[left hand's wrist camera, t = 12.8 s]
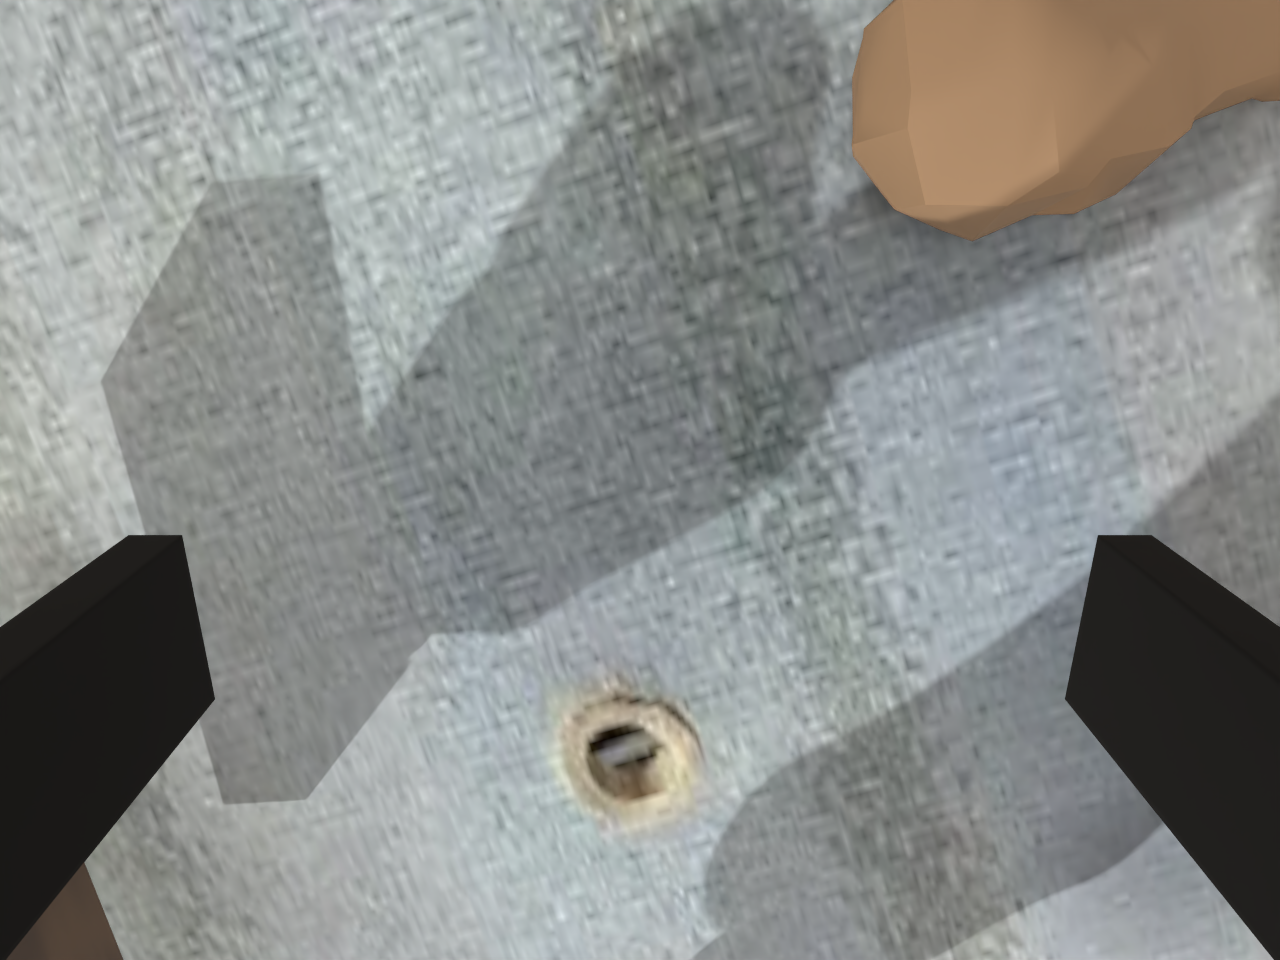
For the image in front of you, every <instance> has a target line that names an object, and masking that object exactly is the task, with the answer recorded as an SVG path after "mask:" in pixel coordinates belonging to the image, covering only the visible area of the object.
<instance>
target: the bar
mask: <svg viewBox="0 0 1280 960" xmlns="http://www.w3.org/2000/svg"><path fill="white" fill-rule="evenodd" d="M6 960H123V958H122V955H121V953H120V950H119V948H118V945H117V943H116V940H115V938H114V935H113V933H112V930H111V928H110V925H109V923H108V920H107V918H106V915H105V913H104V910H103V908H102V905H101V903H100V900H99V898H98V895H97V893H96V890H95V888H94V885H93V883H92V880H91V878H90V875H89V873H88V870H87V868H86V865H85V863H83V864H82V866H81V867H80V868H79V869H78V871H77V872H76V873H75V874H74V876H73V877H72V878H71V879H70V880H69V882H68V883H67V884H66V885H65V887H64V888H63V889H62V890H61V892H60V893H59V894H58V895H57V897H56V898H55V899H54V900H53V902H52V903H51V904H50V905H49V907H48V908H47V909H46V910H45V912H44V913H43V914H42V915H41V917H40V918H39V919H38V920H37V922H36V923H35V924H34V925H33V927H32V928H31V929H30V930H29V932H28V933H27V934H26V935H25V937H24V938H23V939H22V940H21V942H20V943H19V944H18V945H17V947H16V948H15V949H14V950H13V952H12V953H11V954H10V955H9V957H8V958H7V959H6Z"/></svg>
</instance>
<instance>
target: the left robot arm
mask: <svg viewBox="0 0 1280 960" xmlns="http://www.w3.org/2000/svg"><path fill="white" fill-rule="evenodd" d="M214 700H215V697H214V692H213V687H212V682H211V677H210V672H209V667H208V662H207V657H206V652H205V647H204V642H203V637H202V632H201V627H200V622H199V617H198V612H197V607H196V602H195V597H194V592H193V587H192V582H191V577H190V572H189V567H188V562H187V558H186V553H185V548H184V543H183V538H182V535H128V536H127V537H125V538H124V539H123V540H121V541H120V542H118V543H117V544H116V545H114V546H113V547H112V548H110V549H109V550H107V551H106V552H105V553H103V554H102V555H100V556H99V557H98V558H96V559H95V560H93V561H92V562H91V563H89V564H88V565H86V566H85V567H84V568H82V569H81V570H79V571H78V572H77V573H75V574H74V575H72V576H71V577H70V578H68V579H67V580H65V581H64V582H63V583H61V584H60V585H58V586H57V587H56V588H54V589H53V590H52V591H50V592H49V593H47V594H46V595H45V596H43V597H42V598H40V599H39V600H38V601H36V602H35V603H33V604H32V605H31V606H29V607H28V608H26V609H25V610H24V611H22V612H21V613H19V614H18V615H17V616H15V617H14V618H12V619H11V620H10V621H8V622H7V623H5V624H4V625H3V626H1V627H0V960H6V959H7V958H8V957H9V955H10V954H11V953H12V952H13V950H14V949H15V948H16V947H17V945H18V944H19V943H20V942H21V940H22V939H23V938H24V937H25V935H26V934H27V933H28V932H29V930H30V929H31V928H32V927H33V925H34V924H35V923H36V922H37V920H38V919H39V918H40V917H41V915H42V914H43V913H44V912H45V910H46V909H47V908H48V907H49V905H50V904H51V903H52V902H53V900H54V899H55V898H56V897H57V895H58V894H59V893H60V892H61V890H62V889H63V888H64V887H65V885H66V884H67V883H68V882H69V880H70V879H71V878H72V877H73V876H74V874H75V873H76V872H77V871H78V869H79V868H80V867H81V866H82V864H83V863H84V862H85V861H86V859H87V858H88V857H89V856H90V854H91V853H92V852H93V851H94V849H95V848H96V847H97V846H98V844H99V843H100V842H101V841H102V839H103V838H104V837H105V836H106V834H107V833H108V832H109V831H110V829H111V828H112V827H113V826H114V824H115V823H116V822H117V821H118V819H119V818H120V817H121V816H122V814H123V813H124V812H125V811H126V809H127V808H128V807H129V806H130V804H131V803H132V802H133V801H134V799H135V798H136V797H137V796H138V794H139V793H140V792H141V791H142V789H143V788H144V787H145V786H146V784H147V783H148V782H149V781H150V779H151V778H152V777H153V776H154V774H155V773H156V772H157V771H158V769H159V768H160V767H161V766H162V764H163V763H164V762H165V761H166V759H167V758H168V757H169V756H170V755H171V753H172V752H173V751H174V750H175V748H176V747H177V746H178V745H179V743H180V742H181V741H182V740H183V738H184V737H185V736H186V735H187V733H188V732H189V731H190V730H191V728H192V727H193V726H194V725H195V723H196V722H197V721H198V720H199V718H200V717H201V716H202V715H203V713H204V712H205V711H206V710H207V708H208V707H209V706H210V705H211V703H212V702H213V701H214ZM1065 700H1066V701H1067V702H1068V703H1069V705H1070V706H1071V707H1072V708H1073V710H1074V711H1075V712H1076V713H1077V715H1078V716H1079V717H1080V718H1081V720H1082V721H1083V722H1084V723H1085V725H1086V726H1087V727H1088V728H1089V730H1090V731H1091V732H1092V733H1093V735H1094V736H1095V737H1096V738H1097V740H1098V741H1099V742H1100V743H1101V745H1102V746H1103V747H1104V748H1105V750H1106V751H1107V752H1108V753H1109V755H1110V756H1111V757H1112V758H1113V759H1114V761H1115V762H1116V763H1117V764H1118V766H1119V767H1120V768H1121V769H1122V771H1123V772H1124V773H1125V774H1126V776H1127V777H1128V778H1129V779H1130V781H1131V782H1132V783H1133V784H1134V786H1135V787H1136V788H1137V789H1138V791H1139V792H1140V793H1141V794H1142V796H1143V797H1144V798H1145V799H1146V801H1147V802H1148V803H1149V804H1150V806H1151V807H1152V808H1153V809H1154V811H1155V812H1156V813H1157V814H1158V816H1159V817H1160V818H1161V819H1162V821H1163V822H1164V823H1165V824H1166V826H1167V827H1168V828H1169V829H1170V831H1171V832H1172V833H1173V834H1174V836H1175V837H1176V838H1177V839H1178V841H1179V842H1180V843H1181V844H1182V846H1183V847H1184V848H1185V849H1186V851H1187V852H1188V853H1189V854H1190V856H1191V857H1192V858H1193V859H1194V861H1195V862H1196V863H1197V864H1198V866H1199V867H1200V868H1201V869H1202V871H1203V872H1204V873H1205V874H1206V876H1207V877H1208V878H1209V879H1210V880H1211V882H1212V883H1213V884H1214V885H1215V887H1216V888H1217V889H1218V890H1219V892H1220V893H1221V894H1222V895H1223V897H1224V898H1225V899H1226V900H1227V902H1228V903H1229V904H1230V905H1231V907H1232V908H1233V909H1234V910H1235V912H1236V913H1237V914H1238V915H1239V917H1240V918H1241V919H1242V920H1243V922H1244V923H1245V924H1246V925H1247V927H1248V928H1249V929H1250V930H1251V932H1252V933H1253V934H1254V935H1255V937H1256V938H1257V939H1258V940H1259V942H1260V943H1261V944H1262V945H1263V947H1264V948H1265V949H1266V950H1267V952H1268V953H1269V954H1270V955H1271V957H1272V958H1273V959H1274V960H1280V627H1279V626H1277V625H1276V624H1275V623H1273V622H1272V621H1270V620H1269V619H1268V618H1266V617H1265V616H1263V615H1262V614H1261V613H1259V612H1258V611H1256V610H1255V609H1254V608H1252V607H1251V606H1249V605H1248V604H1247V603H1245V602H1244V601H1242V600H1241V599H1240V598H1238V597H1237V596H1235V595H1234V594H1233V593H1231V592H1230V591H1228V590H1227V589H1226V588H1224V587H1223V586H1222V585H1220V584H1219V583H1217V582H1216V581H1215V580H1213V579H1212V578H1210V577H1209V576H1208V575H1206V574H1205V573H1203V572H1202V571H1201V570H1199V569H1198V568H1196V567H1195V566H1194V565H1192V564H1191V563H1189V562H1188V561H1187V560H1185V559H1184V558H1182V557H1181V556H1180V555H1178V554H1177V553H1175V552H1174V551H1173V550H1171V549H1170V548H1168V547H1167V546H1166V545H1164V544H1163V543H1162V542H1160V541H1159V540H1157V539H1156V538H1155V537H1153V536H1152V535H1098V538H1097V543H1096V548H1095V553H1094V558H1093V562H1092V567H1091V572H1090V577H1089V582H1088V587H1087V592H1086V597H1085V602H1084V607H1083V612H1082V617H1081V622H1080V627H1079V632H1078V637H1077V642H1076V647H1075V652H1074V657H1073V662H1072V667H1071V672H1070V677H1069V682H1068V687H1067V692H1066V697H1065Z"/></svg>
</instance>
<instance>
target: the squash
mask: <svg viewBox="0 0 1280 960" xmlns="http://www.w3.org/2000/svg"><path fill="white" fill-rule="evenodd" d="M852 89H853V139H852V151H853V157H854V158H855V159H856V161H857V162H858V163H859V165H860V166H861V167H862V168H863V170H864V171H865V172H866V174H867V175H868V176H869V178H870V179H871V180H872V181H873V183H874V184H875V185H876V187H877V188H878V189H879V191H880V192H881V193H882V194H883V196H884V197H885V198H886V200H887V201H888V202H889V203H890V205H891V206H892V207H893V208H894V209H895V210H897V211H899V212H901V213H903V214H906V215H908V216H910V217H912V218H915V219H917V220H919V221H921V222H924V223H926V224H928V225H930V226H933V227H935V228H937V229H939V230H942V231H945V232H948V233H950V234H953V235H956V236H959V237H962V238H965V239H967V240H970V241H974V240H976V239H979V238H981V237H983V236H985V235H988V234H990V233H992V232H995V231H997V230H999V229H1002V228H1004V227H1006V226H1009V225H1011V224H1013V223H1015V222H1018V221H1020V220H1022V219H1025V218H1027V217H1029V216H1032V215H1051V214H1074V213H1077V212H1079V211H1081V210H1083V209H1085V208H1087V207H1090V206H1092V205H1094V204H1096V203H1098V202H1100V201H1102V200H1105V199H1107V198H1109V197H1111V196H1113V195H1115V194H1117V193H1118V192H1119V191H1120V190H1121V189H1122V188H1124V187H1125V186H1126V185H1127V184H1128V183H1129V182H1130V181H1132V180H1133V179H1134V178H1135V177H1136V176H1137V175H1139V174H1140V173H1141V172H1142V171H1143V170H1144V169H1145V168H1147V167H1148V166H1149V165H1150V164H1151V163H1152V162H1153V161H1155V160H1156V159H1157V158H1158V157H1159V156H1160V155H1161V154H1163V153H1164V152H1165V151H1166V150H1167V149H1168V148H1169V147H1171V146H1172V145H1173V144H1174V143H1175V142H1176V141H1177V140H1179V139H1180V138H1181V137H1182V136H1183V135H1184V134H1185V133H1187V132H1188V131H1189V130H1190V129H1191V127H1192V124H1193V121H1194V120H1197V119H1199V118H1201V117H1204V116H1206V115H1209V114H1211V113H1214V112H1217V111H1219V110H1222V109H1225V108H1227V107H1230V106H1233V105H1235V104H1238V103H1241V102H1243V101H1246V100H1249V99H1251V98H1253V99H1256V100H1259V101H1262V102H1264V101H1280V0H894V1H892V2H891V3H890V4H889V5H888V6H887V7H886V8H885V9H884V10H883V11H882V12H881V13H880V14H879V15H878V16H877V17H876V18H875V19H874V20H873V21H872V22H871V23H869V24H868V25H867V26H866V27H865V28H864V34H863V40H862V43H861V47H860V51H859V55H858V58H857V62H856V66H855V70H854V73H853V77H852Z"/></svg>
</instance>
